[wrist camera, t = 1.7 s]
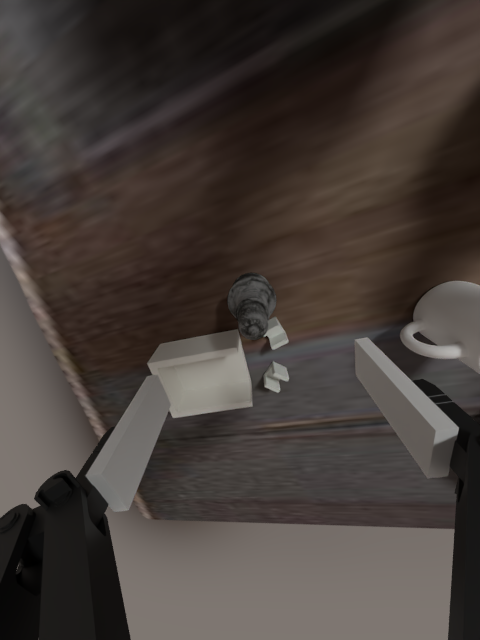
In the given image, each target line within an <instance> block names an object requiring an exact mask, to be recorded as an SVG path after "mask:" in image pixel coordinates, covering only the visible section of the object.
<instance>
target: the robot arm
mask: <svg viewBox="0 0 480 640" xmlns="http://www.w3.org/2000/svg"><path fill="white" fill-rule="evenodd" d="M355 371H356V376H357V378H358V379H359V380H360V382H361V383H362V385H363V386H364V388H365V389H366V391H367V392H368V393H369V395H370V396H371V398H372V399H373V401H374V402H375V403H376V405H377V406H378V408H379V409H380V411H381V412H382V414H383V415H384V416H385V418H386V419H387V421H388V422H389V424H390V425H391V426H392V428H393V429H394V431H395V432H396V434H397V435H398V437H399V438H400V439H401V441H402V442H403V444H404V445H405V447H406V448H407V449H408V451H409V452H410V454H411V455H412V457H413V458H414V460H415V461H416V462H417V464H418V465H419V467H420V468H421V470H422V471H423V472H424V474H425V475H426V477H427V478H436V477H446V476H448V474H449V470H450V467H451V468H452V469H453V471H454V472H455V473H456V474H457V475H458V477H459V478H458V482H457V485H456V489H455V493H456V494H457V499H456V516H455V533H454V550H453V566H452V583H451V601H450V616H449V633H448V640H480V425H479V424H478V423H477V422H476V421H475V420H473V419H472V418H471V417H470V416H469V415H468V414H467V413H466V412H464V411H463V410H462V409H461V408H460V407H459V406H458V405H457V404H455V403H454V402H452V400H451V399H450V398H449V397H448V396H446V395H445V394H444V393H443V392H442V391H441V390H440V389H439V388H437V387H436V386H435V385H433V384H431V383H429V382H427V381H426V380H424V379H420V380H413V381H411V380H410V379H409V378H408V377H407V376H406V375H405V374H404V373H403V372H402V371H401V370H400V369H399V368H398V367H397V366H396V365H395V364H394V363H393V362H392V361H391V360H390V359H389V358H388V357H387V356H386V355H385V354H384V353H383V352H382V351H381V350H380V349H379V348H378V347H377V346H376V345H375V344H374V343H373V342H372V341H371V340H370V339H369V338H368V337H367V338H361V339H355ZM170 406H171V403H170V401H169V398H168V396H167V394H166V392H165V390H164V388H163V385H162V383H161V381H160V379H159V377H158V374H157V375H151V376H147V377H146V379H145V380H144V382H143V384H142V385H141V387H140V389H139V390H138V392H137V393H136V395H135V397H134V398H133V400H132V401H131V403H130V405H129V406H128V408H127V409H126V411H125V413H124V414H123V416H122V418H121V419H120V421H119V422H118V424H117V426H116V427H112V428H110V429H109V430H108V431H107V432H106V433H105V434H104V435H103V437H102V438H101V440H100V442H99V443H98V446H96V448H95V449H94V451H93V454H91V455H90V457H89V458H88V460H87V462H86V463H85V465H84V466H83V468H82V469H81V471H80V472H79V474H78V475H77V477H76V478H75V477H74V476H73V475H72V474H71V473H70V471H67V470H64V471H60V472H58V473H56V474H54V475H53V476H52V477H50V478H49V479H47V480H46V481H45V482H44V483H43V484H42V486H41V487H40V488H39V489H38V491H37V492H36V495H35V498H34V499H35V500H36V501H37V502H38V503H39V504H40V505H41V506H39V507H37V508H34V509H31V508H30V507H29V506H28V505H27V504H21V505H18V506H16V507H14V508H13V509H11V510H10V511H8V512H7V513H6V514H5V515H3V516H2V517H1V518H0V640H38V639H39V640H131V639H130V634H129V629H128V624H127V618H126V613H125V608H124V603H123V598H122V593H121V587H120V582H119V577H118V572H117V566H116V561H115V556H114V551H113V546H112V541H111V535H110V530H109V526H108V520H107V517H106V515H105V514H104V512H105V511H106V509H107V507H108V505H109V506H110V508H111V509H112V510H113V511H114V512H118V511H128V510H129V509H130V506H131V504H132V501H133V499H134V496H135V494H136V491H137V489H138V486H139V484H140V481H141V479H142V476H143V474H144V471H145V469H146V466H147V464H148V461H149V459H150V456H151V454H152V451H153V449H154V446H155V444H156V441H157V439H158V436H159V434H160V431H161V429H162V426H163V424H164V421H165V419H166V416H167V414H168V411H169V408H170ZM18 564H19V566H18ZM17 567H18V569H17ZM16 570H17V571H16Z"/></svg>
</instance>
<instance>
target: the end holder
mask: <svg viewBox="0 0 480 640" xmlns="http://www.w3.org/2000/svg"><path fill="white" fill-rule="evenodd" d="M147 364H148V367H149V369H150V371H151V373H152V375H157V374H158V377H159V379H160V381H161V383H162V385H163V388H164V390H165V392H166V394H167V396H168V398H169V401H170V403H171V406H170V408H169V411H170V413H171V415H172V417H173V418H177V417H184V416H191V415H197V414H204V413H211V412H218V411H224V410H231V409H238V408H245V407H251V406H252V382H251V378H250V375H249V371H248V367H247V363H246V359H245V355H244V351H243V347H242V343H241V340H240V336H239V332H238V329H236V330H230V331H225V332H220V333H215V334H209V335H204V336H199V337H193V338H188V339H183V340H178V341H172V342H167V343H162V344H160V345H159V346H158V348H157V349H156V351H155V352H154V354H153V355H152V357H151V358H150V360H149V361H148V363H147Z"/></svg>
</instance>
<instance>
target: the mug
mask: <svg viewBox="0 0 480 640" xmlns="http://www.w3.org/2000/svg"><path fill="white" fill-rule="evenodd" d="M416 332H420V333H421V334H422V335H423V336H425V337H426V338H428V339H429V340H431V341H432V342H433V343H435V344H436V345H438V346H435V345H428V344H425V343H422V342H420V341H418V340H416V339H415V338H414V337H413V334H414V333H416ZM400 338H401V341H402V343H403V344H404V345H405V346H406V347H407V348H409V349H410V350H412V351H413V352H415V353H417V354H420V355H423V356H426V357H431V358H437V359H456V358H457V359H458V360H460V361H461V362H463V363H464V364H466V365H467V366H469V367H470V368H472V369H473V370H475V371H476V372H477V373H479V374H480V285H477V284H474V283H470V282H465V281H450V282H446V283H443V284H440V285H438V286H436V287H434V288H432V289H431V290H429V291H428V292H427V293H426V294H425V295H424V296H423V297H422V298H421V299H420V300H419V302H418V303H417V305H416V307H415V310H414V313H413V322H411V323H409V324H407V325H406V326H404V328H403V329H402V330H401V332H400Z"/></svg>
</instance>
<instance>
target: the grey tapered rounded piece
mask: <svg viewBox="0 0 480 640" xmlns="http://www.w3.org/2000/svg"><path fill="white" fill-rule="evenodd" d="M227 303H228V307H229V310H230V312H231V313H232V315H233V316H234V317H235V318H236V319H237V321H238V322H239V324H238V327H239V330H240V332H241V334H242V335H243V336H244V337H246V338H247V339H251V340H256V339H260V338H262V337H263V336H264V335H265V334H266V332H267V330H268V319H269V316H270V315H271V314H272V313H273V311H274V309H275V306H276V294H275V292H274V289H273V288H272V287H271V285H270V284H269V282H268V281H267V280H266V279H265V278H264V277H263V276H262V275H259V274H257V273H247V274H244V275H242V276H240V277H239V278H238V279H236V281H235V282H234V284H233V287H232V288H231V289H230V291H229V294H228V301H227Z"/></svg>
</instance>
